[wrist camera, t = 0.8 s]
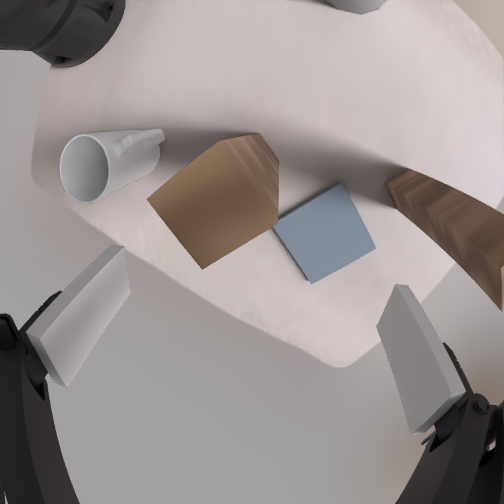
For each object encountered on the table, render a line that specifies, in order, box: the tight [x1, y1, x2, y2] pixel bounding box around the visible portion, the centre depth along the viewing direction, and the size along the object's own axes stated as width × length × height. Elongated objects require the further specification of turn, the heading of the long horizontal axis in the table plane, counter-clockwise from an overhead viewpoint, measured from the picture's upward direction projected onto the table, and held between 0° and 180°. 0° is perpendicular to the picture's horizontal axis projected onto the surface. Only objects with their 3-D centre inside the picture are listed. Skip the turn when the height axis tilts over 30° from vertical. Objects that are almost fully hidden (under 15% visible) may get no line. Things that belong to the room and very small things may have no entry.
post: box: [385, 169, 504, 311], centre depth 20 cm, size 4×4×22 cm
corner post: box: [147, 133, 279, 270], centre depth 21 cm, size 4×4×22 cm
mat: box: [273, 182, 376, 284], centre depth 34 cm, size 10×10×1 cm
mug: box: [59, 129, 165, 204], centre depth 26 cm, size 10×7×12 cm, turn 112°
